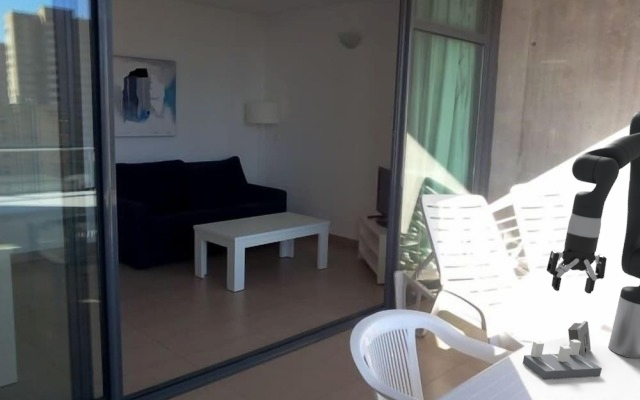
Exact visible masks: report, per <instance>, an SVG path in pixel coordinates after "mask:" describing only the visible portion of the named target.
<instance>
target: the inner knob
mask: <svg viewBox="0 0 640 400" xmlns="http://www.w3.org/2000/svg"><path fill="white" fill-rule="evenodd" d="M580 345H581V342H580V341H578V340H575V339H574V340H570V342H569V345H568V347H570V348H571V352H570V355H579V350H580Z"/></svg>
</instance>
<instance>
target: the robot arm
mask: <svg viewBox="0 0 640 400" xmlns="http://www.w3.org/2000/svg"><path fill="white" fill-rule="evenodd" d="M628 164H630V165H629V166H630V167H629V182H628V183H629V184H628V191H627V192H628V193H627V213H626V215H627V216H626V227H625V235H624V242H623V248H622V251H621V252H622V254H621V259H620V260H621V261H620V262H621V263H620V264H621V265H620V266H621V269H622V271H623V273H625V274H626V275H629V276H630V277H634V278H635V279H639V280H640V111H637V112H636V111H635V113H634V114H633V116H632V118H631V120H630V125H629V133H628V135H626V136H625V135H624V136H621V137H619V138H617V139H614V140H613V141H611V142H610V143H608V144H606V145H605V146H604V147H600V148H596V149H593V150H590V151H587V152H584V153H582V154H581V155H579V156H578V157H577V158H576V159H575V160H574V162H573V163H572V167H571V172H572V175H573V177H574V178H575V179H576V180H577V181H580V182H584V183H589V184H593V185H595V187H594V188H593V189H592V190H591V191H589V190H588V191H579V192H577V193H576V194H575V195H574V199H573V203H572V204H573V205H572V208H571V209H572V210H571V214H570V218H569V219H568V220H569V221H568V224H567V225H568V226H567V230H566V236H565V241H564V246H563V247H564V248H563V251H562V252H560V251H555V249H552V250H551V251H550V254H549V258H548V263H547V266H546V271H547V273H549V274H550V275H552V281H551V287H552V288H553V290H554V291H557V292H559V291H560V287H561V282H562V276H563V275H564V274H565V273H567V272H568V271H581V272H585V274H586V275H587V277H586V281H585V286H584V292H585V294H588V295H589V294H590V295H591V294H592V292H593V291H594V290H595V284H596V281H597V280H599V279H600V280H603V279H604V278H605V272H606V266H607V257H606V256H604V255H602V254H599V253H598V255H595V253H596V252H597V249H598V248H597V247H598V243H599V238H600V234H601V227H602V217H603V212H604V207H605V203H606V201H607V198H608V196H609V194H610V192H611V190H612V189H613V186H614V185H615V182H616V181H617V179H618V177H619V173H620V170H621V169H623V168H624V167H625V166H627V165H628ZM561 258H562V261H560V260H561ZM559 261H560V263H558V262H559ZM594 262H595V270H594V269H593V267H592V264H593V263H594ZM617 303H618V304H617V308H616V312H615V316H614V321H613V324H612V328H611V334H610V337H609V342H608V349H609V350H610V351H612V352H613V353H615V354H617V355H619V356H623V357H626V358H630V359H631V358H632V359H639V357H640V284H638V286H635V285H633V286H632V285H630V286H629V285H628V286H623V287H622V288H621V290H620V295H619V299H618V302H617Z"/></svg>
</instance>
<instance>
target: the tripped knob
mask: <svg viewBox="0 0 640 400" xmlns="http://www.w3.org/2000/svg"><path fill="white" fill-rule="evenodd" d="M570 352H571V348H570V347H569V345H559V350H558V354H559V355H558V360H559V361H561V362H569V357H570Z"/></svg>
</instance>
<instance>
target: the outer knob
mask: <svg viewBox="0 0 640 400" xmlns="http://www.w3.org/2000/svg"><path fill="white" fill-rule="evenodd" d="M544 347H545V343H544V342H542V341H541V340H533V342H532V346H531V350H530V355H532V356H534V357H542V354H543V351H544Z"/></svg>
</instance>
